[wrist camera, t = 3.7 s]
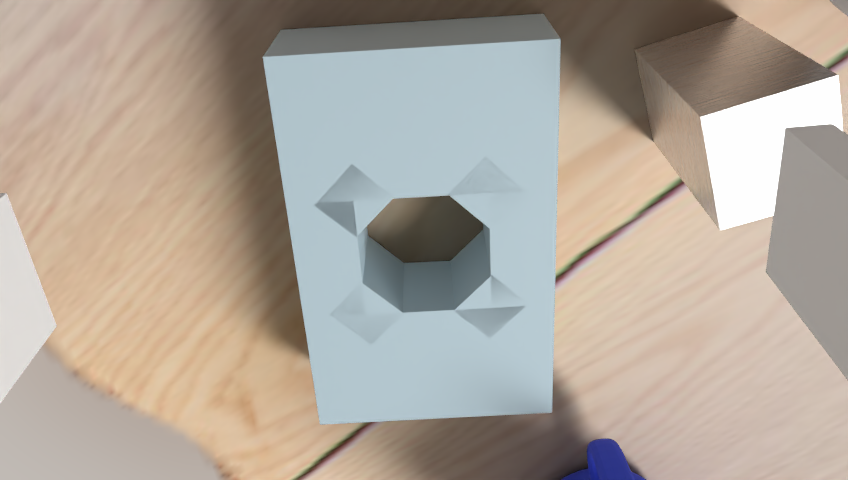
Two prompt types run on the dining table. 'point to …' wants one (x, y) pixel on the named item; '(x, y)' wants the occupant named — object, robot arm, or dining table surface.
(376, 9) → the dining table surface
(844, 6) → the bowl
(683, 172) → the square steel bar
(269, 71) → the bore block
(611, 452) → the mug
